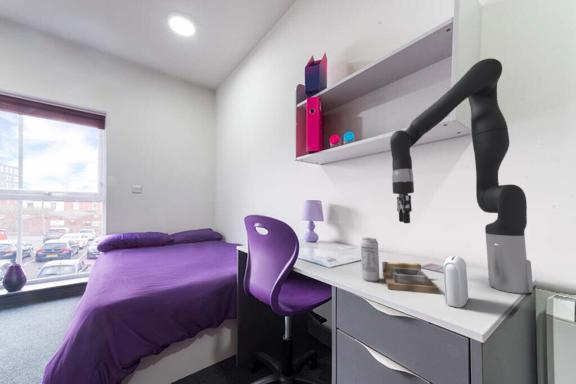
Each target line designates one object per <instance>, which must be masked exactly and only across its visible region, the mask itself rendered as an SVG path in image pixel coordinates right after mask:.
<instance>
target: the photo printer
mask: <svg viewBox="0 0 576 384" xmlns="http://www.w3.org/2000/svg"><path fill="white" fill-rule="evenodd" d="M467 271H468V270H467V263H466V261H465V260H464V258H462V257H461V256H459V255H457V256H455V255H451V256H449V257H447V258H446V260H445V262H444V263H443V285H444V286H443V287H444V300H445V304H447V305H448V306H450V307H454V308H457V309H458V308H463V307H465V305H466V304H467V302H468V299H469V289H468V288H469V287H468V275H467V274H468V273H467Z"/></svg>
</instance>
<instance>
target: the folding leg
mask: <svg viewBox="0 0 576 384" xmlns="http://www.w3.org/2000/svg"><path fill="white" fill-rule="evenodd" d="M381 264H382V274H383V273H390V267H393V268H409V269H420V270H421V271H422V264H420V263H417V262H416V263H412V262H410V263H409V262H389V261H382V262H381Z"/></svg>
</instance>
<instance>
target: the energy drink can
mask: <svg viewBox="0 0 576 384" xmlns="http://www.w3.org/2000/svg"><path fill="white" fill-rule="evenodd" d="M361 239H362V240H361V241H360V260H361V261H360V264H361V265H360V267H361V271H360V272H361V279H363V281H365V282H369V283H370V282H371V283H376V282H378V281H379V280H380V261H379V259H380V258H379V242H378V240H377V237H361Z"/></svg>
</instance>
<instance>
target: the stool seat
mask: <svg viewBox="0 0 576 384" xmlns="http://www.w3.org/2000/svg"><path fill="white" fill-rule="evenodd" d="M382 278H383V280H384V282H385V284H386V287H387V290H390V291H391V290H393V291H403V292H412V293H415V292H416V293H426V294H437V295H439V294H440V289H439V288H440V287H439V286H438V285H436V284H435V283H434V282H433V281H432V280H431V279H430V278H429V276H428V275H426V273H424V271H422V269H421V270H420V269H409V268H393V267H390V273H383V272H382Z"/></svg>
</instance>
